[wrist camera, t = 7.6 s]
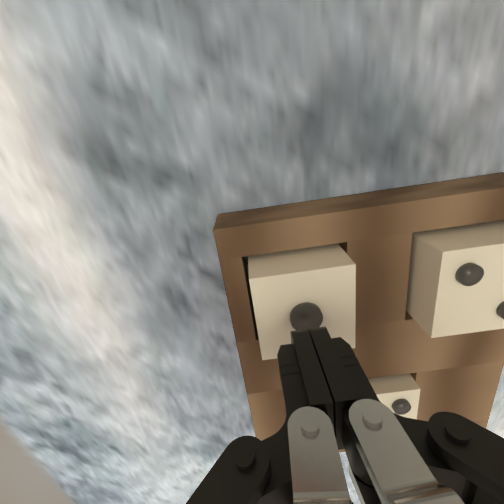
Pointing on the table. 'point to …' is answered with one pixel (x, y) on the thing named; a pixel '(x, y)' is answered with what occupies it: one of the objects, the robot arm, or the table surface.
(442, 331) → the key two dots
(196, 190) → the table surface
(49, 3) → the table surface
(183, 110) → the table surface
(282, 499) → the robot arm
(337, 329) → the key one dot
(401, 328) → the key panel
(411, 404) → the key three dots
